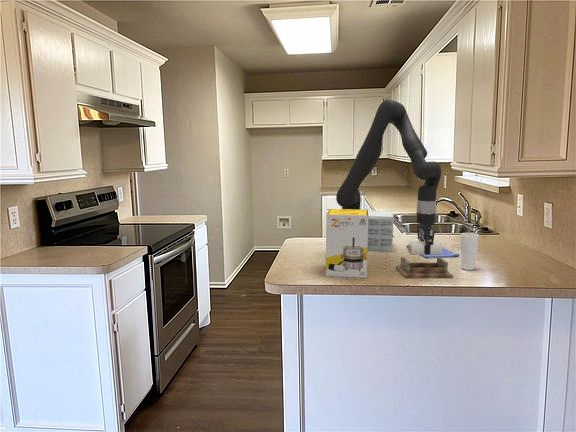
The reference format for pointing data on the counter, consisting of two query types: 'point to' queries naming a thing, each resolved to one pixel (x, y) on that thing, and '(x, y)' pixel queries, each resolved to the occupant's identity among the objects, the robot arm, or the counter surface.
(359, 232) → the packaging box
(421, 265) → the cradle
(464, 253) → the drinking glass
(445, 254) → the dish towel
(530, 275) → the counter surface
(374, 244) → the supplement box
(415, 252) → the roll
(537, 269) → the counter surface
